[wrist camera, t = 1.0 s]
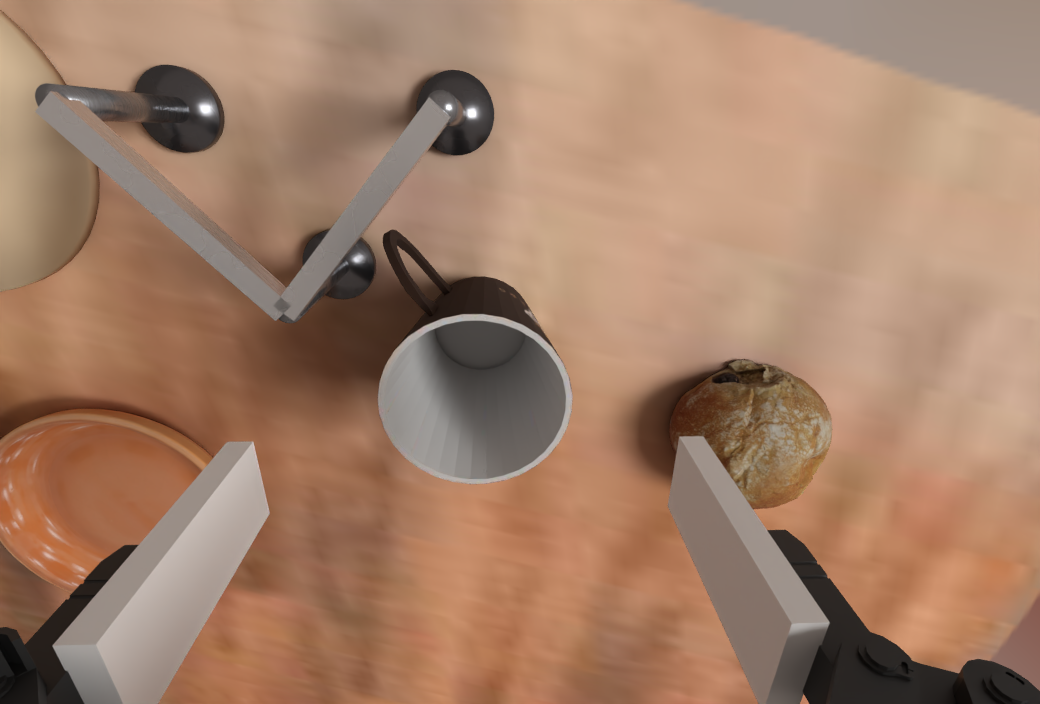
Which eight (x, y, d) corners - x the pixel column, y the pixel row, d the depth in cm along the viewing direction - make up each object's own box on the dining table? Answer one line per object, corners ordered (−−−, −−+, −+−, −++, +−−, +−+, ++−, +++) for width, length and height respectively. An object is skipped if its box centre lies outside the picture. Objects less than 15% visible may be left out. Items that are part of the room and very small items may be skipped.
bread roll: (769, 337, 37) (818, 334, 29) (831, 466, 37) (897, 499, 29) (643, 392, 38) (657, 403, 31) (701, 517, 38) (730, 562, 30)
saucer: (-30, 489, 35) (-74, 520, 32) (99, 345, 31) (61, 366, 29) (175, 607, 40) (152, 642, 38) (306, 495, 37) (291, 525, 34)
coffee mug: (550, 383, 34) (572, 478, 24) (419, 391, 33) (392, 489, 24) (547, 201, 29) (572, 234, 20) (395, 209, 29) (349, 246, 20)
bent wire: (191, 296, 30) (78, 359, 22) (132, 65, 25) (-42, 33, 17) (495, 295, 31) (496, 355, 23) (493, 72, 26) (494, 45, 18)
